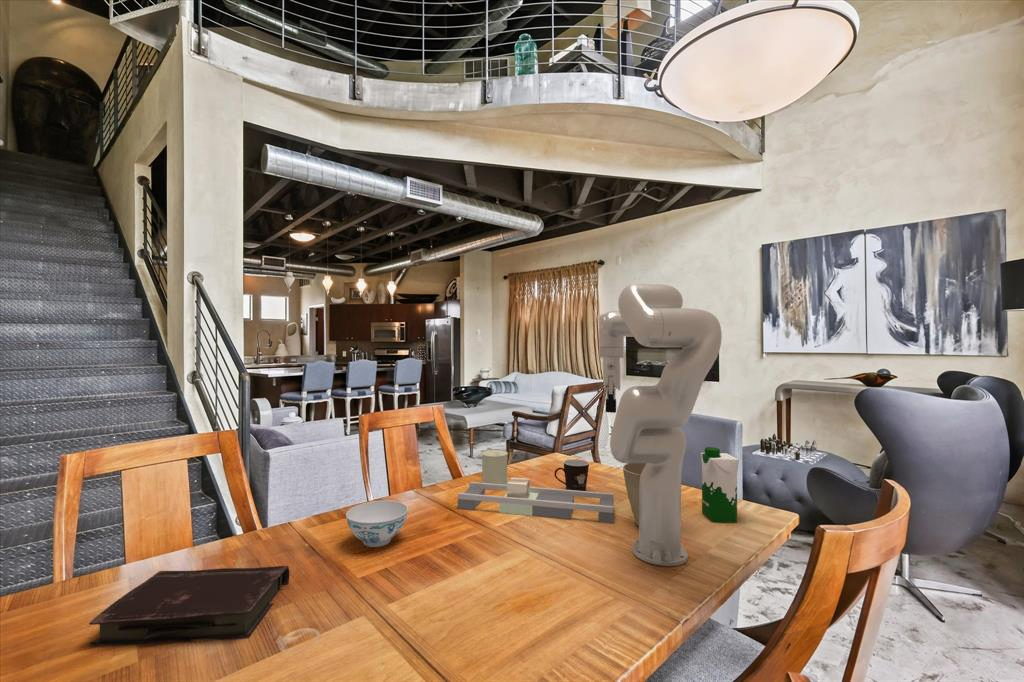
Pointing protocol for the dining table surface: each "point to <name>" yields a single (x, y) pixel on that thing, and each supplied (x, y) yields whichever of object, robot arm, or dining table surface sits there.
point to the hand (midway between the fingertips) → (610, 412)
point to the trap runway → (538, 501)
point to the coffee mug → (575, 474)
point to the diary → (191, 606)
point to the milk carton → (719, 485)
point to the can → (494, 467)
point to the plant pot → (633, 485)
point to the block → (518, 488)
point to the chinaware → (376, 521)
